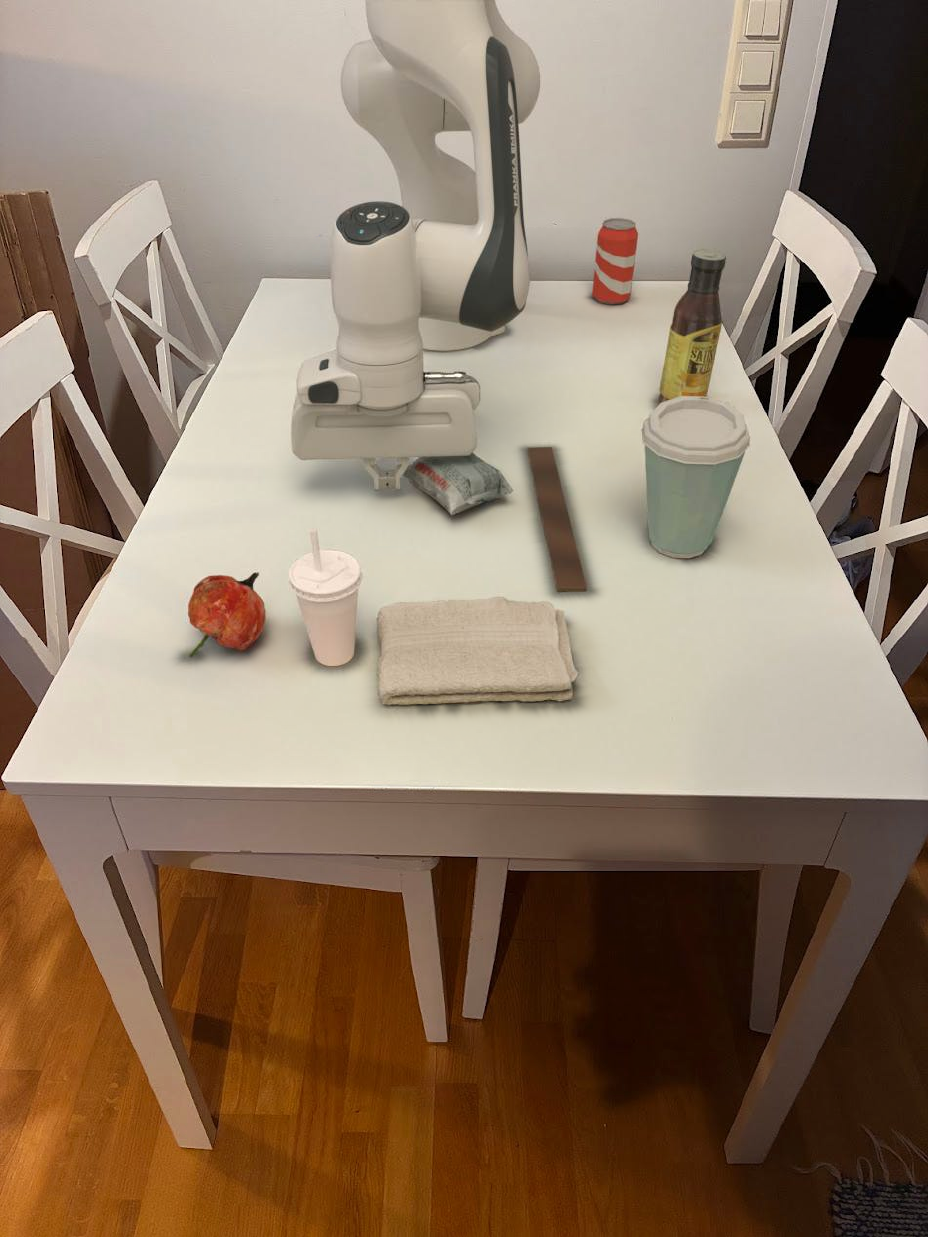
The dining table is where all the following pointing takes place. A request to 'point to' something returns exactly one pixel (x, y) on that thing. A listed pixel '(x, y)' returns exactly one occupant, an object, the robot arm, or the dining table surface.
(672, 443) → the disposable coffee cup
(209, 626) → the pomegranate
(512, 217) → the robot arm
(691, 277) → the sauce bottle
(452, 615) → the washcloth
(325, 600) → the smoothie
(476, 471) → the packaged food
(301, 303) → the dining table surface
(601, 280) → the beverage can
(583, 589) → the ruler
